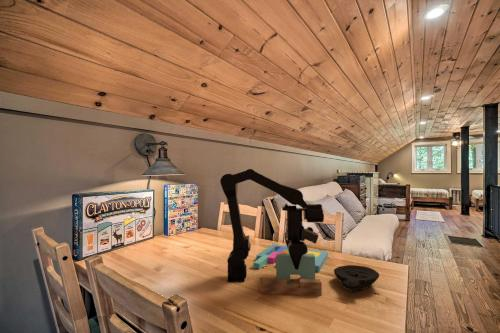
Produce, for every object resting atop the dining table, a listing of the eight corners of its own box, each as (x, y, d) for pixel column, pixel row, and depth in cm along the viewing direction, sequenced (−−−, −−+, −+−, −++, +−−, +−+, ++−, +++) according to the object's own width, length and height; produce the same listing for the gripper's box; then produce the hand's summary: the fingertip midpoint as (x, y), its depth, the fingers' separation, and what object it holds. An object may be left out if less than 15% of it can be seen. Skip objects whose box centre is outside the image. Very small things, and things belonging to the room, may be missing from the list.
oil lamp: (324, 292, 80) (324, 277, 80) (339, 272, 96) (339, 259, 96) (374, 306, 71) (373, 289, 72) (382, 281, 88) (381, 267, 88)
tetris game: (272, 249, 127) (247, 268, 102) (272, 243, 127) (247, 261, 102) (328, 257, 113) (314, 281, 89) (328, 251, 114) (314, 274, 89)
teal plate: (276, 280, 89) (276, 256, 89) (276, 277, 92) (276, 253, 92) (315, 281, 88) (315, 256, 88) (313, 277, 91) (313, 253, 91)
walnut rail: (259, 293, 79) (259, 281, 79) (260, 290, 82) (260, 278, 82) (321, 295, 78) (321, 282, 78) (320, 291, 80) (319, 279, 81)
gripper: (322, 228, 80) (323, 275, 80) (311, 217, 99) (311, 256, 99) (288, 228, 81) (289, 274, 81) (284, 217, 100) (284, 255, 99)
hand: (294, 264), depth 90 cm, fingers open, 9 cm apart
